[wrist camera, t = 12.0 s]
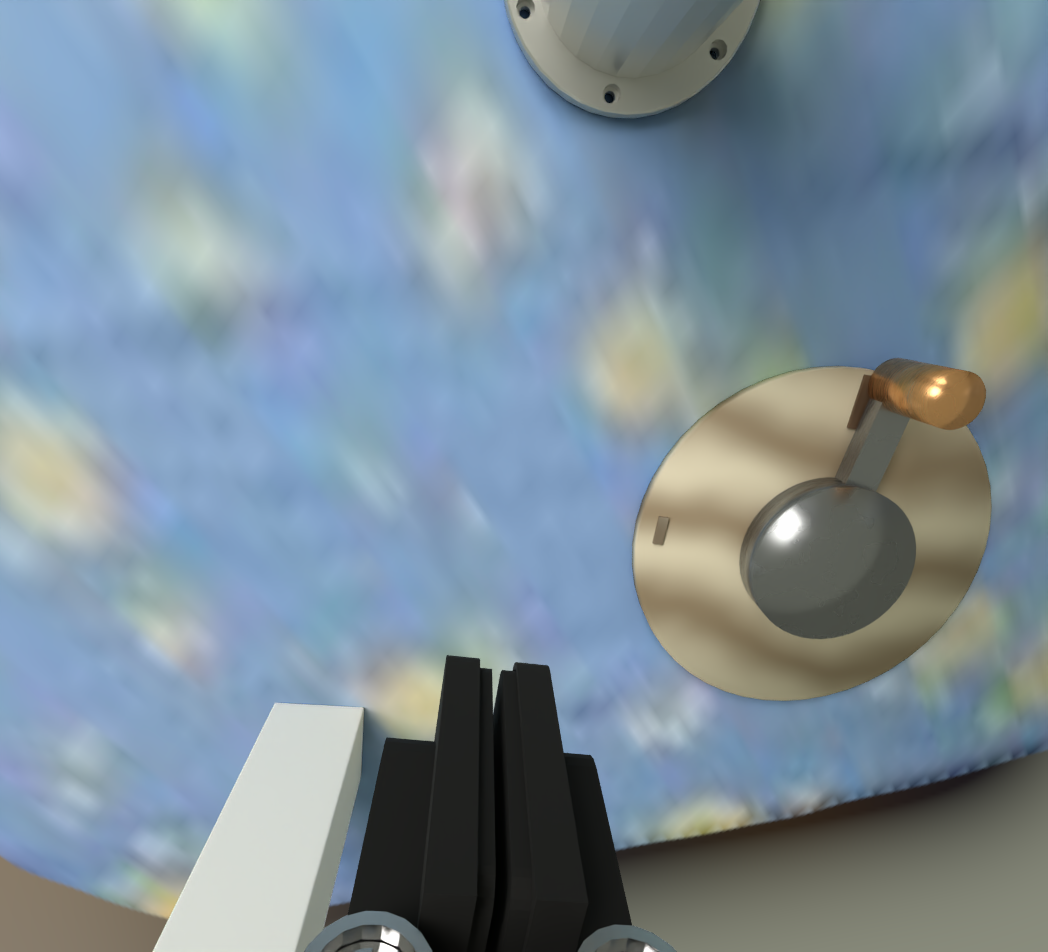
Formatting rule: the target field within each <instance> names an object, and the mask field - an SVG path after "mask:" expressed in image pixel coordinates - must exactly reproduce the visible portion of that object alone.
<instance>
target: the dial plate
mask: <svg viewBox="0 0 1048 952" xmlns="http://www.w3.org/2000/svg"><path fill="white" fill-rule="evenodd" d="M873 372H874V370H869V369H865V368H857V367H846V366H826V367H812V368H806V369H801V370H795V371H790V372H787V373H783V374H780V375H777V376H774V377H771V378H767V379H765V380H762V381H760V382H758V383H756V384H753V385H751V386H749V387H747V388H745V389H742V390H741V391H739V392H737V393H736V394H734V395H732V396H731V397H729V398H727V399H726V400H724V401H722V402H721V403H719V404H718V405H717V406H715V407H714V408H713V409H711V410H710V411H709V412H708V413H706V414H705V415H704V416H702V417H701V418H700V419H699V420H698V421H697V422H696V423H695V424H694V425H693V426H692V427H691V428H690V429H689V430H688V431H687V432H686V433H685V434H684V435H683V436H682V437H681V438H680V439H679V440H678V441H677V443H676V444H675V445H674V446H673V448H672V449H671V450H670V451H669V453H668V454H667V455H666V456H665V458H664V460H663V461H662V463H661V464H660V466H659V468H658V469H657V471H656V473H655V474H654V476H653V477H652V480H651V482H650V484H649V486H648V488H647V491H646V493H645V495H644V497H643V500H642V503H641V506H640V509H639V513H638V516H637V519H636V524H635V530H634V536H633V542H632V569H633V577H634V585H635V588H636V592H637V596H638V599H639V603H640V605H641V608H642V610H643V612H644V614H645V616H646V619H647V621H648V623H649V625H650V627H651V629H652V631H653V633H654V634H655V636H656V637H657V639H658V640H659V642H660V643H661V645H662V646H663V647H664V649H665V650H666V651H667V652H668V653H669V654H670V655H671V656H672V658H673V659H674V660H675V661H676V662H678V663H679V664H680V665H681V666H682V667H684V668H685V669H686V670H687V671H688V672H690V673H691V674H693V675H694V676H696V677H697V678H699V679H701V680H702V681H704V682H706V683H707V684H710V685H712V686H714V687H717V688H719V689H721V690H723V691H726V692H730V693H733V694H736V695H740V696H743V697H749V698H755V699H762V700H779V701H788V700H802V699H810V698H815V697H821V696H826V695H830V694H833V693H837V692H840V691H844V690H847V689H850V688H852V687H855V686H857V685H860V684H862V683H865V682H867V681H869V680H871V679H873V678H875V677H877V676H879V675H881V674H883V673H884V672H886V671H888V670H890V669H891V668H893V667H894V666H896V665H897V664H899V663H900V662H902V661H903V660H905V659H906V658H908V657H909V656H910V655H911V654H913V653H914V652H915V651H916V650H918V649H919V648H920V647H921V646H922V645H924V644H925V643H926V642H927V641H928V640H929V639H930V638H931V637H932V636H933V635H934V634H935V633H936V632H937V631H938V630H939V629H940V628H941V627H942V626H943V624H944V623H945V622H946V621H947V619H948V618H949V617H950V616H951V614H952V613H953V612H954V611H955V609H956V608H957V606H958V605H959V603H960V602H961V600H962V599H963V597H964V595H965V594H966V592H967V591H968V589H969V587H970V585H971V583H972V581H973V579H974V577H975V575H976V573H977V571H978V568H979V565H980V562H981V559H982V557H983V554H984V551H985V547H986V543H987V538H988V534H989V529H990V518H991V491H990V482H989V478H988V473H987V468H986V464H985V462H984V459H983V456H982V454H981V451H980V449H979V446H978V444H977V442H976V441H975V439H974V437H973V435H972V434H971V432H970V430H969V429H968V427H967V426H964V427H962V428H959V429H955V430H944V429H941V428H938V427H935V426H932V425H929V424H926V423H923V422H920V421H917V420H914V419H911V418H910V420H909V422H908V424H907V426H906V428H905V430H904V433H903V435H902V437H901V439H900V441H899V443H898V445H897V447H896V450H895V452H894V454H893V456H892V458H891V460H890V462H889V465H888V467H887V469H886V471H885V473H884V475H883V477H882V480H881V482H880V484H879V486H878V488H877V490H876V492H878V493H880V494H882V495H883V496H885V497H887V498H889V499H890V500H891V501H893V502H894V503H896V504H897V505H898V506H899V507H900V508H901V509H902V510H903V512H904V513H905V515H906V516H907V517H908V519H909V521H910V523H911V525H912V528H913V531H914V534H915V540H916V558H915V565H914V568H913V572H912V575H911V577H910V579H909V582H908V584H907V586H906V588H905V589H904V591H903V593H902V594H901V595H900V597H899V598H898V600H897V601H896V602H895V603H894V604H893V605H892V606H891V608H890V609H889V610H888V611H886V612H885V613H884V614H883V615H882V616H881V617H879V618H878V619H877V620H875V621H874V622H872V623H871V624H869V625H867V626H866V627H864V628H862V629H860V630H857V631H855V632H853V633H850V634H847V635H844V636H840V637H835V638H828V639H809V638H803V637H799V636H795V635H792V634H790V633H788V632H785V631H783V630H782V629H780V628H779V627H777V626H776V625H774V624H773V623H772V622H771V621H770V620H769V619H768V618H767V617H766V616H765V614H764V613H763V612H762V611H761V610H760V608H759V607H758V606H757V605H756V604H755V602H754V601H753V600H752V599H751V598H750V596H749V594H748V593H747V591H746V590H745V587H744V585H743V582H742V579H741V575H740V567H739V559H740V550H741V545H742V542H743V539H744V536H745V534H746V532H747V530H748V528H749V526H750V524H751V522H752V521H753V519H754V518H755V516H756V515H757V514H758V513H759V512H760V510H761V509H762V508H763V507H764V506H765V505H766V504H767V503H768V502H769V501H770V500H772V499H773V498H774V497H776V496H777V495H778V494H780V493H781V492H783V491H785V490H786V489H788V488H790V487H792V486H794V485H796V484H799V483H802V482H805V481H808V480H812V479H817V478H825V477H835V476H836V473H837V471H838V469H839V467H840V464H841V462H842V460H843V457H844V455H845V453H846V451H847V448H848V446H849V444H850V442H851V439H852V437H853V435H854V433H855V430H856V428H857V426H858V424H859V421H860V419H861V417H862V415H863V412H864V410H865V408H866V406H867V403H868V401H869V399H870V398H869V395H868V383H869V380H870V377H871V375H872V373H873Z"/></svg>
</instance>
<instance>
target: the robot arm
mask: <svg viewBox="0 0 1048 952" xmlns="http://www.w3.org/2000/svg"><path fill="white" fill-rule="evenodd" d="M759 2H760V0H504V3H505V8H506V13H507V17H508V19H509V22H510V25H511V27H512V30H513V33H514V35H515V38H516V41H517V43H518V45H519V46H520V48H521V50H522V52H523V53H524V55H525V57H526V58H527V60H528V62H529V64H530V65H531V67H532V68H533V69H534V70H535V71H536V72H537V74H538V75H539V76H540V77H541V78H542V80H543V81H544V82H545V83H546V84H547V85H548V86H549V87H550V88H551V89H553V90H554V91H555V92H556V93H558V94H559V95H560V96H561V97H563V98H564V99H565V100H566V101H568V102H570V103H572V104H574V105H576V106H578V107H580V108H582V109H584V110H586V111H588V112H591V113H595V114H599V115H603V116H607V117H611V118H639V117H645V116H650V115H656V114H659V113H661V112H664V111H666V110H669V109H671V108H673V107H676V106H678V105H680V104H682V103H683V102H685V101H686V100H688V99H689V98H691V97H692V96H694V95H695V94H697V93H698V92H700V91H701V90H702V89H703V88H704V87H705V86H706V85H707V84H709V83H710V82H711V81H712V80H713V79H715V78H716V77H717V75H718V74H719V73H720V72H721V71H722V70H723V69H724V68H725V66H726V65H727V64H728V63H729V62H730V61H731V59H732V58H733V56H734V55H735V53H736V51H737V50H738V48H739V46H740V45H741V43H742V41H743V40H744V38H745V37H746V35H747V33H748V31H749V28H750V26H751V23H752V21H753V18H754V16H755V14H756V11H757V9H758V6H759ZM522 10H527V11H528V12H529V14H530V17H529V18H527V19H523V18H522V17H521V16H520V14H519V13H520V12H521V11H522ZM709 51H714V52H715V53H716V59H715V60H714V59H713V58H712V57H711V55H710V54H709ZM608 93H609V94H611V95H612V96H613V102H612V103H607V102H606V101H605V94H608ZM304 952H676V950H675V949H674V948H673V947H672V946H671V945H669V944H668V943H667V942H665V941H664V940H662V939H661V938H659V937H658V936H657V935H655V934H654V933H652V932H649V931H646V930H644V929H641V928H638V927H635V926H632V923H631V919H630V914H629V910H628V905H627V901H626V897H625V892H624V888H623V883H622V879H621V875H620V870H619V866H618V861H617V857H616V853H615V848H614V844H613V839H612V835H611V831H610V826H609V822H608V817H607V813H606V808H605V804H604V800H603V795H602V791H601V786H600V782H599V778H598V773H597V769H596V765H595V762H594V759H593V758H592V756H591V755H583V754H571V753H563V747H562V741H561V735H560V729H559V723H558V716H557V710H556V704H555V698H554V692H553V686H552V680H551V674H550V669H549V666H547V665H538V664H528V663H518V662H516V663H515V664H514V667H513V671H506V670H502V671H501V674H500V678H499V684H498V690H497V696H496V701H495V707H494V713H493V695H492V669H486V668H480V659H479V658H469V657H459V656H449V655H447V657H446V663H445V670H444V677H443V684H442V691H441V698H440V705H439V712H438V719H437V726H436V733H435V740H434V742H432V741H420V740H409V739H397V738H386V741H385V744H384V749H383V753H382V758H381V763H380V767H379V772H378V777H377V781H376V786H375V791H374V795H373V800H372V805H371V809H370V814H369V819H368V823H367V828H366V833H365V837H364V842H363V846H362V851H361V856H360V860H359V865H358V870H357V874H356V879H355V884H354V888H353V893H352V898H351V902H350V907H349V912H348V915H347V916H344V917H343V918H341V919H339V920H337V921H336V922H334V923H332V924H331V925H329V926H327V927H326V928H324V929H323V930H322V931H321V932H320V933H319V934H318V935H317V936H316V937H315V938H314V939H313V940H312V941H311V942H310V943H309V944H308V946H307V947H306V949H305V951H304Z"/></svg>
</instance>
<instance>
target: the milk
mask: <svg viewBox="0 0 1048 952" xmlns="http://www.w3.org/2000/svg"><path fill="white" fill-rule="evenodd" d="M363 719H364V708H363V707H347V706H329V705H310V704H292V703H275V704H274V706H273V708H272V710H271V712H270V714H269V716H268V718H267V720H266V722H265V724H264V726H263V728H262V730H261V732H260V734H259V736H258V738H257V740H256V742H255V744H254V746H253V748H252V750H251V753H250V755H249V757H248V759H247V761H246V763H245V765H244V767H243V769H242V771H241V773H240V775H239V777H238V779H237V781H236V783H235V785H234V787H233V789H232V791H231V793H230V795H229V797H228V799H227V801H226V803H225V805H224V807H223V809H222V812H221V814H220V816H219V818H218V820H217V822H216V824H215V826H214V828H213V830H212V832H211V834H210V836H209V838H208V840H207V842H206V844H205V846H204V848H203V850H202V852H201V854H200V856H199V858H198V860H197V862H196V864H195V866H194V868H193V871H192V873H191V875H190V877H189V879H188V881H187V883H186V885H185V887H184V889H183V891H182V893H181V895H180V897H179V899H178V901H177V903H176V905H175V907H174V909H173V911H172V913H171V915H170V917H169V919H168V921H167V923H166V926H165V927H164V930H163V932H162V934H161V936H160V938H159V940H158V942H157V944H156V946H155V948H154V950H153V952H304V951H305V949H306V947H307V946H308V944H309V943H310V942H311V941H312V940H313V939H314V938H315V937H316V936H317V935H318V934H319V933H320V932H321V931H322V930H323V928H324V924H325V919H326V916H327V912H328V908H329V904H330V900H331V896H332V892H333V888H334V884H335V880H336V876H337V872H338V868H339V864H340V859H341V855H342V851H343V847H344V843H345V839H346V835H347V831H348V827H349V823H350V819H351V815H352V811H353V807H354V803H355V799H356V795H357V791H358V787H359V783H360V778H361V766H362V743H363Z"/></svg>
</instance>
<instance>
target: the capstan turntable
mask: <svg viewBox="0 0 1048 952" xmlns="http://www.w3.org/2000/svg"><path fill="white" fill-rule="evenodd" d="M868 395H869V398H870V399H869V401H868V403H867V406H866V408H865V410H864V412H863V415H862V417H861V419H860V421H859V424H858V426H857V428H856V430H855V433H854V435H853V437H852V439H851V442H850V444H849V446H848V448H847V451H846V453H845V455H844V457H843V460H842V462H841V464H840V467H839V469H838V471H837V473H836V476H835V477H825V478H817V479H812V480H808V481H805V482H802V483H799V484H796V485H794V486H792V487H790V488H788V489H786V490H785V491H783V492H781V493H780V494H778V495H777V496H776V497H774V498H773V499H772V500H770V501H769V502H768V503H767V504H766V505H765V506H764V507H763V508H762V509H761V510H760V512H759V513H758V514H757V515H756V516H755V518H754V519H753V521H752V522H751V524H750V526H749V528H748V530H747V532H746V534H745V536H744V539H743V542H742V545H741V550H740V559H739V567H740V575H741V579H742V582H743V585H744V587H745V590H746V591H747V593H748V594H749V596H750V598H751V599H752V600H753V601H754V602H755V604H756V605H757V606H758V607H759V608H760V610H761V611H762V612H763V613H764V614H765V616H766V617H767V618H768V619H769V620H770V621H771V622H772V623H773V624H774V625H776V626H777V627H779V628H780V629H782V630H783V631H785V632H788V633H790V634H792V635H795V636H799V637H803V638H809V639H828V638H835V637H840V636H844V635H847V634H850V633H853V632H855V631H857V630H860V629H862V628H864V627H866V626H867V625H869V624H871V623H872V622H874V621H875V620H877V619H878V618H879V617H881V616H882V615H883V614H884V613H885V612H886V611H888V610H889V609H890V608H891V606H892V605H893V604H894V603H895V602H896V601H897V600H898V598H899V597H900V595H901V594H902V593H903V591H904V589H905V588H906V586H907V584H908V582H909V579H910V577H911V575H912V572H913V568H914V565H915V558H916V540H915V534H914V531H913V528H912V525H911V523H910V521H909V519H908V517H907V516H906V515H905V513H904V512H903V510H902V509H901V508H900V507H899V506H898V505H897V504H896V503H894V502H893V501H891V500H890V499H889V498H887V497H885V496H883V495H882V494H880V493H878V492H876V490H877V488H878V486H879V484H880V482H881V480H882V477H883V475H884V473H885V471H886V469H887V467H888V465H889V462H890V460H891V458H892V456H893V454H894V452H895V450H896V447H897V445H898V443H899V441H900V439H901V437H902V435H903V433H904V430H905V428H906V426H907V424H908V422H909V420H910V418H911V419H914V420H917V421H920V422H923V423H926V424H929V425H932V426H935V427H938V428H941V429H944V430H955V429H959V428H962V427H964V426H966V425H967V424H969V423H970V422H972V421H973V420H974V419H975V418H976V417H977V416H978V414H979V413H980V411H981V410H982V408H983V405H984V402H985V398H986V389H985V385H984V383H983V381H982V379H981V378H980V377H979V376H978V375H976V374H974V373H972V372H969V371H964V370H959V369H954V368H948V367H943V366H938V365H933V364H928V363H923V362H918V361H913V360H908V359H903V358H894V359H890V360H887V361H885V362H884V363H882V364H881V365H879V366H878V367H877V368H876V369H875V371H874V372H873V373H872V375H871V377H870V380H869V383H868Z"/></svg>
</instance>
